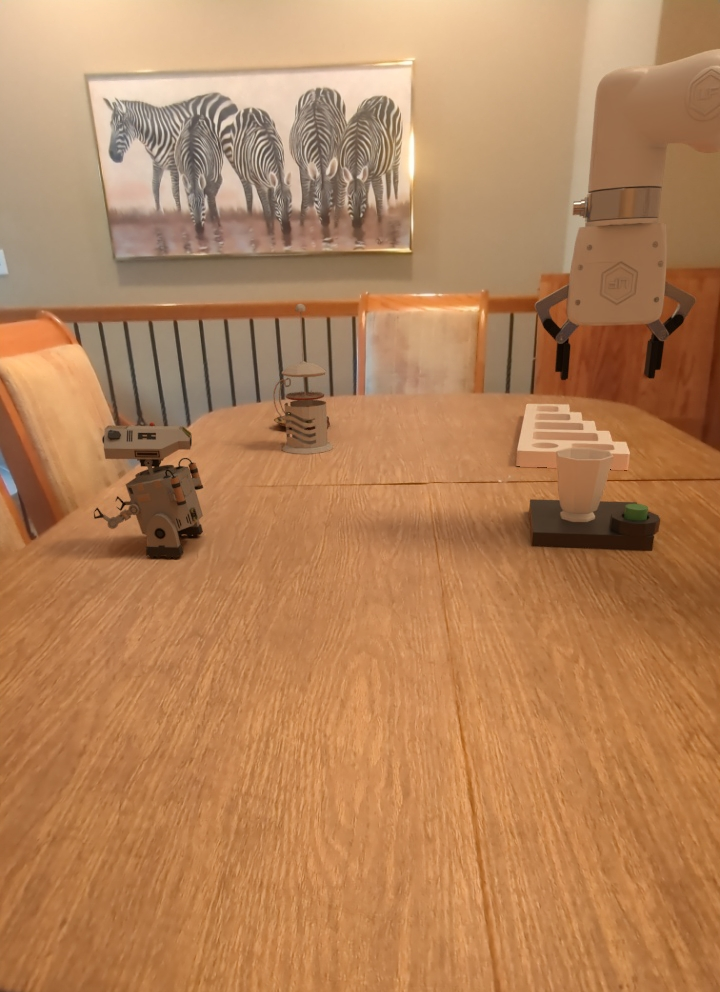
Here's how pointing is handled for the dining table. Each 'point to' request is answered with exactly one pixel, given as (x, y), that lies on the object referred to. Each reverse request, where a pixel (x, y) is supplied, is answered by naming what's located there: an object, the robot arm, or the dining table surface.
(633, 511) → the scale button
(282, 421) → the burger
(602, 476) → the cup
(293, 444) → the french press
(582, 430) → the holder
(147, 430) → the figurine
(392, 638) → the dining table surface
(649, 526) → the scale
